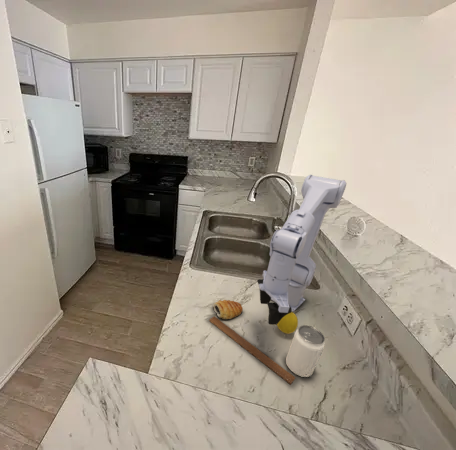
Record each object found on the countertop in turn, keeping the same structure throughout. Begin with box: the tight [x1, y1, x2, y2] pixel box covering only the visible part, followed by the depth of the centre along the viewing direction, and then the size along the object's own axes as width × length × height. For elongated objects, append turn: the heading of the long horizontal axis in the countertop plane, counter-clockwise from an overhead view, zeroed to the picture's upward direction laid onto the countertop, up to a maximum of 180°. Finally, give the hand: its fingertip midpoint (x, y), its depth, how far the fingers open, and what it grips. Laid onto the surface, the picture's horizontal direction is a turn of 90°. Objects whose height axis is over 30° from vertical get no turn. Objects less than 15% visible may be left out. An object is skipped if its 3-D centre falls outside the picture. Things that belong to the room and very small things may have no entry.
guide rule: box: [208, 316, 296, 386], centre depth 72 cm, size 2×26×1 cm, turn 39°
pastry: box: [212, 299, 243, 320], centre depth 84 cm, size 9×7×4 cm
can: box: [285, 324, 326, 378], centre depth 65 cm, size 6×6×12 cm
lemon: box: [276, 311, 299, 335], centre depth 76 cm, size 6×6×8 cm
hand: (268, 312), depth 71 cm, fingers open, 7 cm apart
